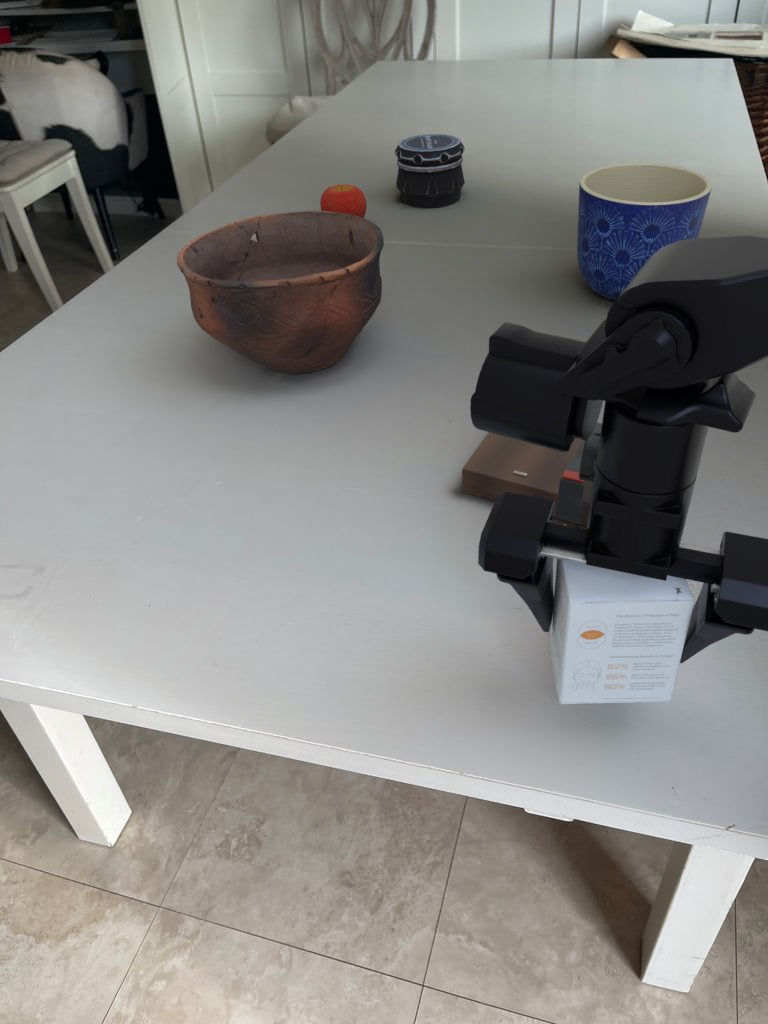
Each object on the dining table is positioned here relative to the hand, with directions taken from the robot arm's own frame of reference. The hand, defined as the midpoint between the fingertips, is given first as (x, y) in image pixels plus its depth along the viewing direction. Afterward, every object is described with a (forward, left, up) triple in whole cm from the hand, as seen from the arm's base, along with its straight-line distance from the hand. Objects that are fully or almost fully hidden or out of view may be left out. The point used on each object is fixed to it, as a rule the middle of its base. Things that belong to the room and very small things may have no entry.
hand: (612, 642), depth 57 cm
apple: (+68, -79, -7) cm, 105 cm away
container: (+61, -99, -7) cm, 117 cm away
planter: (+17, -73, -7) cm, 75 cm away
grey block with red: (+8, -21, -4) cm, 23 cm away
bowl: (+52, -38, -7) cm, 65 cm away
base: (+11, -23, -7) cm, 26 cm away
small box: (0, 0, -4) cm, 4 cm away
